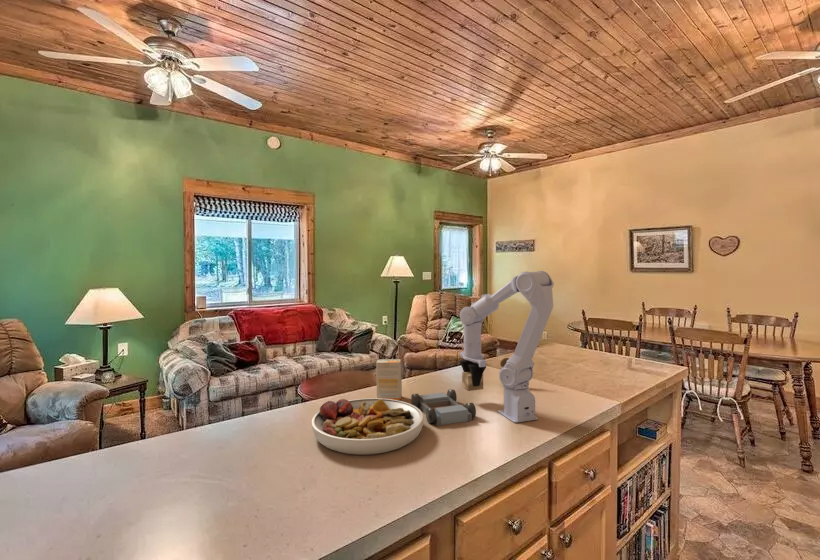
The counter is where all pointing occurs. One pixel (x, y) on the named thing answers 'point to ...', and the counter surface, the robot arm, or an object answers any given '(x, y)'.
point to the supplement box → (389, 379)
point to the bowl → (367, 425)
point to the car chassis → (443, 408)
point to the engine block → (470, 382)
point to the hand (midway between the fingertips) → (472, 383)
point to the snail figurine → (503, 362)
